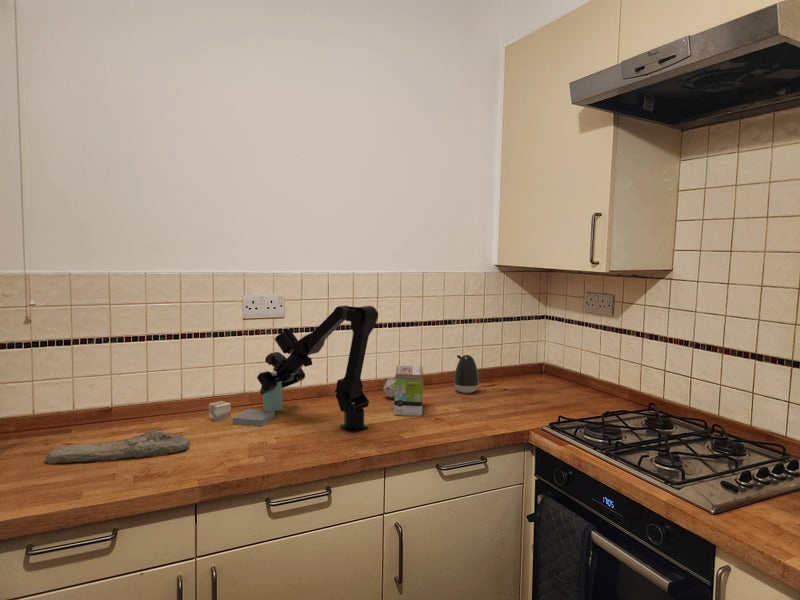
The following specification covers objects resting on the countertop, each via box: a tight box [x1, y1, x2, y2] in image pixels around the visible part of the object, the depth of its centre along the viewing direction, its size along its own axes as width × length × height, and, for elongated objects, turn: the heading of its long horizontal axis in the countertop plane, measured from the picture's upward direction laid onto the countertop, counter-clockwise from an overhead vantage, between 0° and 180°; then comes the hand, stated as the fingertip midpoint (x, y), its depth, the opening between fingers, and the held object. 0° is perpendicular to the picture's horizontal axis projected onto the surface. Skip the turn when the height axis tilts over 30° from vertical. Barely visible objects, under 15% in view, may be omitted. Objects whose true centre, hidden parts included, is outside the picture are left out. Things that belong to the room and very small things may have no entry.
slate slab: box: [232, 408, 276, 427], centre depth 175 cm, size 10×10×2 cm
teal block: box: [262, 371, 283, 412], centre depth 186 cm, size 4×4×13 cm
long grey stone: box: [45, 429, 191, 465], centre depth 144 cm, size 35×5×10 cm
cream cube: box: [208, 400, 232, 422], centre depth 176 cm, size 5×5×5 cm
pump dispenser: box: [453, 354, 480, 394], centre depth 215 cm, size 10×10×15 cm
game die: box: [380, 377, 395, 400], centre depth 204 cm, size 9×8×10 cm
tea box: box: [393, 365, 424, 417], centre depth 189 cm, size 15×10×15 cm
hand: (269, 391), depth 187 cm, fingers open, 8 cm apart
